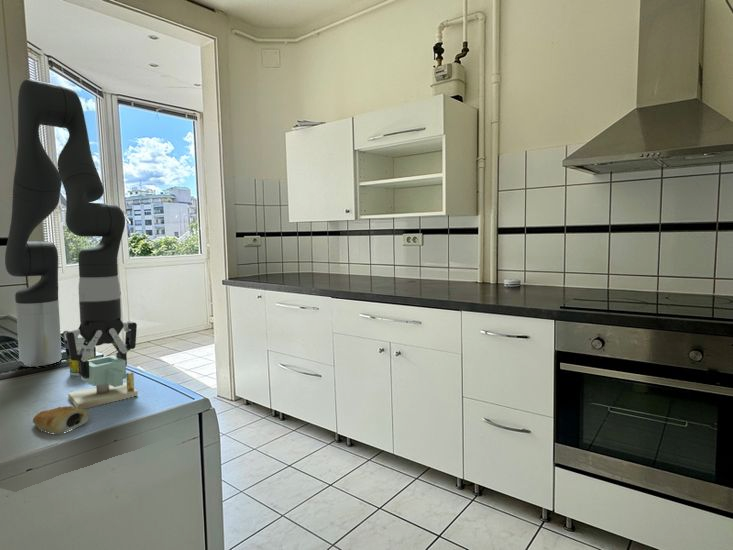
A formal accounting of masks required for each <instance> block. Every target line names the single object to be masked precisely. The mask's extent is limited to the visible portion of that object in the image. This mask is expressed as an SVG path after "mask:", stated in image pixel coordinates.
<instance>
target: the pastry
mask: <svg viewBox="0 0 733 550" xmlns="http://www.w3.org/2000/svg"><path fill="white" fill-rule="evenodd" d="M89 417H90V416H89V413H88V412H87V410H86V409H82V408H80V409H79V408H76V406H72V405H69V406H59V407H55V408H51V409H47V410H42V411H40V412H38V413H36V415H35V416H34V417H33V419H32V423H33V424H34V425H35V426H36V427H37V428H38V430H39V431H40V430H42V431H41V432H43V431H46V432H49V433H54V434H62V433H64V432H67V431H69V430H71V429H74V428H76V427H77V426H80V427H82V426H84V425H85V424H86V423H87V422H88V421H89ZM83 424H84V425H83ZM81 425H82V426H81ZM76 429H77V428H76ZM74 430H75V429H74ZM46 432H45V433H46ZM49 433H48V434H49ZM64 434H65V433H64ZM62 435H63V434H62Z"/></svg>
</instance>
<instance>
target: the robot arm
mask: <svg viewBox="0 0 733 550" xmlns="http://www.w3.org/2000/svg"><path fill="white" fill-rule="evenodd" d="M17 95H18V97H17V98H18V100H17V150H16V151H17V152H16V160H15V168H14V174H13V184H12V202H11V203H12V205H11V217H10V226H9V231H8V238H7V242H6V248H5V253H4V254H5V255H4V264H5V270H6V272H7V273H8V274H9V275H11V276H12V277H21V278H22V277H39V276H40V279H39V280H38V281H37V282H36V283H34V284H32V285H31V286H30V285H29V286H28V287H25V288H22V289H20V290H18V291H16V293H15V295H14V297H15V298H14V299H15V313H16V327H17V329H16V330H17V342H18V343H17V345H18V346H17V347H18V360H19V361H21V362H23V363H24V365H26V366H29V367H31V366H39V365H47V364H52V363H56V362H58V361H60V360H61V359H62V342H61V341H62V340H61V321H60V320H61V319H60V318H61V317H60V302H59V301H60V300H59V254H58V249H57V246H56V245H55V243H54V242H52V241H42V240H41V241H35V240H34V241H29V238H30V236H31V235H32V233H33V231H34V230H35V229H36V228H37V227H38V226H39V225H40V224H41V223H43V221H45V219H47V218H48V217H49V216H50V215H51V214H52V213H53V212H54V211H55V210H56V209H57V207H58V206H59V203H60V197H61V189H62V187H63V188H64V192H65V201H66V203H65V204H66V207H65V208H66V210H65V225H66V227H67V228H68V231H70V232H71V233H72V234H74V235H75V236H78V237H83V238H84V237H91V238H92V237H97V238H98V237H101V239H100V242H99V243H98V244H97V245H96V246H93V247H87V248H84V249H81V250H80V251H79V252H78V259H77V260H78V273H79V274H78V276H79V279H78V281H79V282H78V301H79V302H78V304H79V305H78V307H79V320H80V321H79V322H80V324H79V326H78V328H77V329H74V330H64V331H63V332H62V337H63V343H64V348H65V355H66V359H68V360H69V359H71V360H73V361H75V360H77V361H78V368H79V375H80V376H79V377H81V376H82V377H83V378H85V379H87V378H89V361H88V360H87V359H88V357H89V355H90V353H91V352H92V351H93V350H94V351H95V347H98V346H103V345H104V344H105V345H106V344H108V345H109V344H111V345H112V346H113V347H114V348H115V350H116V353H115V356H116V357H118V358H120V359H123V360H126V367H127V365H128V356H127V354H128V352H129V351H131V350H134V349H135V348H136V344H137V326H138V324H137V323H136V322H135V321H134V322H133V321H130V320H129V321H127V322H123V321H122V305H121V304H122V303H121V294H122V293H121V287H120V285H121V284H120V281H119V269H118V268H119V266H118V264H119V263H118V255H119V251H120V246H121V241H122V238H123V234H124V231H125V226H126V218H125V215H124V212H123V210H122V209H121V207H120V206H118V205H116V204H112V203H101V202H95V201H98V200H100V199H101V198H102V196H103V195H104V192H105V189H104V185H103V182H102V180H101V178H100V175H99V172H98V169H97V167H96V164H95V161H94V157H93V155H92V152H91V151H92V150H91V146H90V140H89V134H88V128H87V123H86V118H85V114H84V113H85V112H84V108H83V105H82V102H81V99H80V96H79V95H78V94H77V92H76V91H75V90H73V88H70V87H66V86H64V85H58V84H56V83H49V82H46V81H45V82H44V81H41V80H40V81H39V80H34V79H29V78H28V79H24V80H23V81H22V82H21V84H20V85H19V89H18V94H17ZM40 126H48V127H54V128H60V129H61V128H62V129H66V130H67V132H68V134H69V135H68V139H67V141H66V143H65V144H64V146H63V148H62V150H60V153H59V155H58V158H57V163H56V165H55V164H54V162H53V161H52V159H51V158H50V156H49V155H48V153H47V152H46V149H45V148H44V146H43V144H42V141H41V139H40V138H41V137H40ZM122 330H123V331H124V332H125V339H124V341H123V340H122V338H121V337H120V333H121V332H122ZM78 335H81V336H82V337H83V338H84V341H83V343H82V345H81V349H80V351H79V353H78V354H77V349H76V343H75V341H76V340H77V339H78ZM82 377H81V378H82Z"/></svg>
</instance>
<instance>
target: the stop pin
mask: <svg viewBox="0 0 733 550" xmlns="http://www.w3.org/2000/svg"><path fill="white" fill-rule="evenodd" d="M134 373H135V372H128V373H127V372H126V378H125V379H126V383H127V391H134V389H135V374H134Z"/></svg>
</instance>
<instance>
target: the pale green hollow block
mask: <svg viewBox="0 0 733 550" xmlns="http://www.w3.org/2000/svg"><path fill="white" fill-rule="evenodd" d="M88 361H89V378H87V379H85V378H83V377H82V376H80V377H81V380H82V381H83V382H85V383H87V384H89V385H91V386H93V387H94V386H95V387H96V386H97V385H101V384H105V383H107V384H109V385H111V386H113V387H118V386H122V385H123V381H124V379H127V378H126V374H127V368H126V367H127V366H126V360H123V359H120V358H118V357H116V355H108V356H102V357H101V356H100V357H98V358H94V359H91V360H88Z"/></svg>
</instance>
